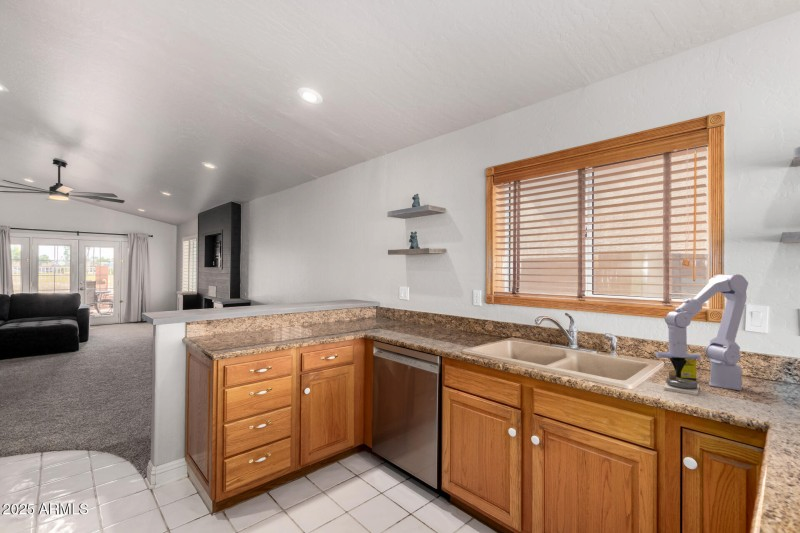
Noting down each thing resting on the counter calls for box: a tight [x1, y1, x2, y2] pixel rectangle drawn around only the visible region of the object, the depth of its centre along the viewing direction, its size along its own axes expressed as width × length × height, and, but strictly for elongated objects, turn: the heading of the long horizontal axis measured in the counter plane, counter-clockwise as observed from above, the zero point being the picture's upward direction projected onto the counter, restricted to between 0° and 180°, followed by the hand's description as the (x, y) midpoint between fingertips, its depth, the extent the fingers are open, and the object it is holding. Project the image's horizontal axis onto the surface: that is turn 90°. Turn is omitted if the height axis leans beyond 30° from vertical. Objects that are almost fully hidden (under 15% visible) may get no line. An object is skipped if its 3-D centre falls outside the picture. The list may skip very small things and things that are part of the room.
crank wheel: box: [665, 368, 699, 389], centre depth 144 cm, size 10×10×5 cm
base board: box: [663, 382, 700, 396], centre depth 144 cm, size 10×13×1 cm
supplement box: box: [673, 350, 697, 381], centre depth 159 cm, size 6×6×11 cm
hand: (678, 376), depth 148 cm, fingers closed
